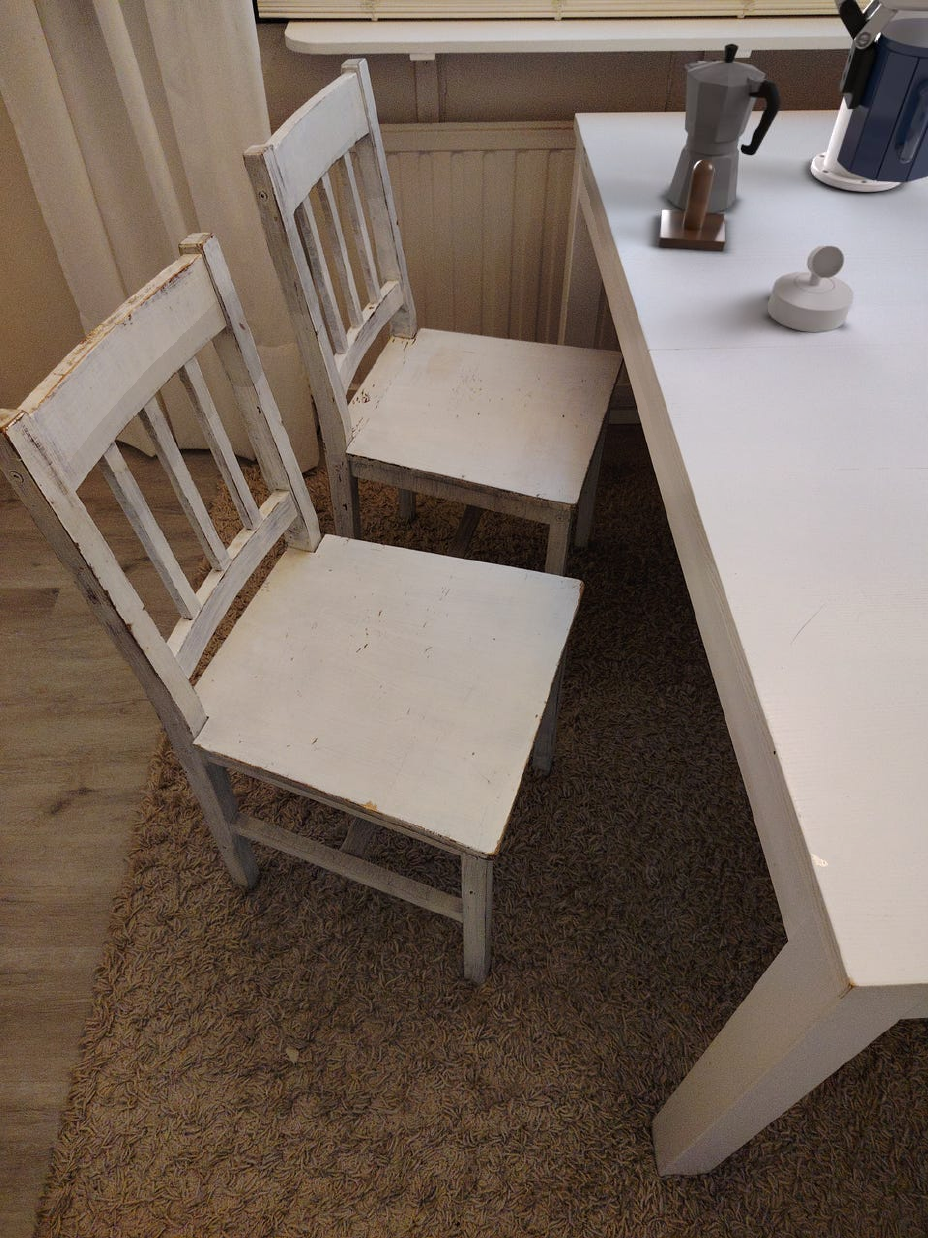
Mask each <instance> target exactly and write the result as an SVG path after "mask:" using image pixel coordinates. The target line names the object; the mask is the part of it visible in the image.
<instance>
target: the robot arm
mask: <svg viewBox="0 0 928 1238" xmlns="http://www.w3.org/2000/svg"><path fill="white" fill-rule="evenodd" d="M834 3H835V6H836V9H837V12H838V15H839V18H840V20H841V22H842V23H843V25H844V27H845V29H846V31H847V32H848V34H849V35H850V37H851V39H852V42H851V46H850V50H849V53H848V56H847V58H846V63H845V65H844V70H843V71H842V76H841V80H840V83H839V93H841V94H843V98H842V101H841V105H840V107H839V111H838V114H837V116H836V117H837V118H836V121H835V124H834V127H833V131H832V134H831V137H830V140H829V143H828V147H827V150H826V151H822V152H820V153H818V154H816V156H814V158H813V159H812V162H811V165H810V171H811V173H812V175H813V176H814V178H816V179H817V180H819V181H820V182H822V183H824V184H826V185H828V186H831V187H834V188H837V189H841V190H845V191H852V192H864V193H873V192H883V191H887V190H888V191H889V190H891V189H894V188H895V187H898V186H899V185H900V184H901V182H881V181H876V180H875V181H873V180H870V179H867V178H864V177H860V176H857V175H854V174H851V173H850V172H847V171H846V170H845V169H844V168H843V167H842V166H841V165H840V164H839V163H838V162H837V158H838V154H839V151H840V148H841V145H842V142H843V139H844V136H845V132H846V129H847V126H848V123H849V120H850V117H851V114H852V110H854V109H855V108H858V106H859V103H860V100H861V97H862V94H863V91H864V88H865V85H866V82H867V79H868V76H869V72H870V69H871V66H872V63H873V60H874V57H875V53H876V51H875V48H874V46H873V44H874V41H875V40H876V38H877V36H878V34H879V33H880V32H881V31H882V30H883V29H884V27H885V26H886V25H887V24H888V23H889V22H890V21H894V20H899V19H907V18H928V0H871V1H870V2H869V3H868V5H867V6H866V8H865V9H864V10H863V11H862V9H861V7H860V5H859V3H858V2H857V0H834Z"/></svg>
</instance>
